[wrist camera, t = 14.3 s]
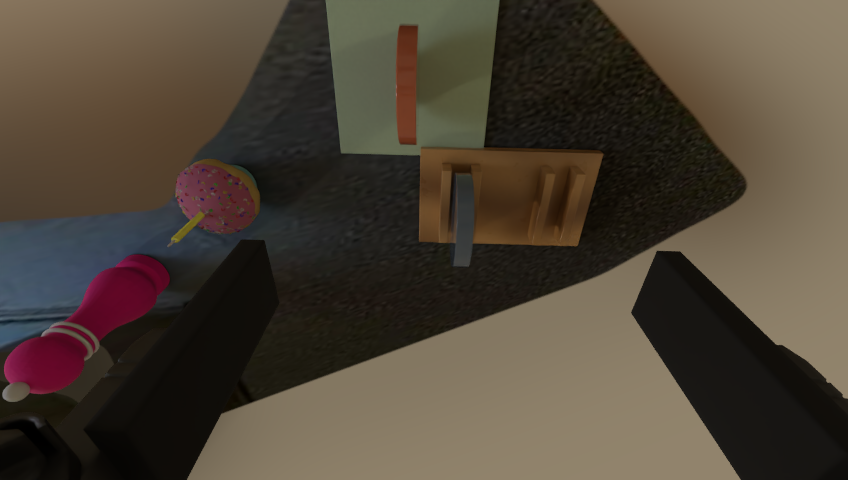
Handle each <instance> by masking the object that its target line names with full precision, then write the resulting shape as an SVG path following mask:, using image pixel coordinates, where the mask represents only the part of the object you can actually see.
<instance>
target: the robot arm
mask: <svg viewBox="0 0 848 480" xmlns="http://www.w3.org/2000/svg"><path fill="white" fill-rule="evenodd" d="M278 305H279V299H278V295H277V291H276V287H275V282H274V278H273V274H272V270H271V266H270V262H269V258H268V254H267V249H266V245H265V241H264V240H241V241H240V242H239V243H238V244H237V246H236V247H235V248H234V249H233V250H232V252H231V253H230V254H229V255H228V256H227V258H226V259H225V260H224V261H223V262H222V264H221V265H220V266H219V267H218V268H217V269H216V271H215V272H214V273H213V274H212V275H211V277H210V278H209V279H208V280H207V281H206V283H205V284H204V285H203V286H202V287H201V289H200V290H199V291H198V292H197V293H196V295H195V296H194V297H193V298H192V299H191V301H190V302H189V303H188V304H187V305H186V307H185V308H184V309H183V310H182V311H181V313H180V314H179V315H178V316H177V317H176V319H175V320H174V321H173V322H172V323H171V325H170V326H169V327H168V328H167V329H164V328H154V329H153V330H151V331H150V332H148V333H147V334H145V335H144V336H142V337H141V338H140V339H138V340H137V341H135V342H134V343H133V344H132V345H131V346H130V347H129V348H128V349H127V350H126V352H125V353H124V354H123V355H122V356H121V357H120V358H119V359H118V363H115V364H114V365H113V366H112V367H111V368H110V369H109V370H108V372H107V373H106V375H105V378H101V379H100V381H99V382H98V383H97V384H96V385H95V386H94V387H93V388H92V389H91V391H90V392H89V393H88V394H87V395H86V396H85V397H84V398H83V399H82V401H81V402H80V403H79V404H78V405H77V406H76V407H75V408H74V409H73V410H72V411H71V413H70V414H69V415H68V416H67V417H66V418H65V419H64V420H63V421H62V423H61V424H60V425H59V426H58V427H57V428H56V429H54V428H53V427H52V426H51V425H50V424H49V422H48V421H47V420H46V419H45V418H44V417H43V416H41V415H39V414H36V413H34V412H29V413H17V414H14V415H11V416H8V417H5V418H2V419H0V480H187V478H188V476H189V474H190V472H191V470H192V469H193V467H194V465H195V463H196V461H197V459H198V457H199V455H200V453H201V451H202V449H203V448H204V446H205V444H206V442H207V440H208V438H209V436H210V434H211V432H212V430H213V429H214V427H215V425H216V423H217V421H218V419H219V417H220V415H221V413H222V411H223V409H224V408H225V406H226V404H227V402H228V400H229V398H230V396H231V394H232V392H233V390H234V388H235V387H236V385H237V383H238V381H239V379H240V377H241V375H242V373H243V371H244V369H245V368H246V366H247V364H248V362H249V360H250V358H251V356H252V354H253V352H254V350H255V348H256V347H257V345H258V343H259V341H260V339H261V337H262V335H263V333H264V331H265V329H266V327H267V326H268V324H269V322H270V320H271V318H272V316H273V314H274V312H275V310H276V308H277V307H278ZM631 313H632V315H633V316H634V318H635V319H636V321H637V323H638V324H639V326H640V327H641V329H642V330H643V331H644V333H645V335H646V336H647V338H648V339H649V341H650V342H651V344H652V345H653V347H654V348H655V350H656V351H657V353H658V354H659V356H660V357H661V359H662V360H663V362H664V363H665V365H666V367H667V368H668V369H669V371H670V372H671V374H672V376H673V377H674V379H675V380H676V382H677V383H678V385H679V386H680V388H681V389H682V391H683V392H684V394H685V395H686V397H687V398H688V400H689V401H690V403H691V405H692V406H693V408H694V409H695V411H696V412H697V414H698V415H699V417H700V418H701V420H702V421H703V423H704V424H705V426H706V427H707V429H708V430H709V432H710V433H711V435H712V436H713V438H714V439H715V441H716V442H717V444H718V446H719V447H720V449H721V450H722V452H723V453H724V455H725V456H726V458H727V459H728V461H729V462H730V464H731V465H732V467H733V468H734V470H735V471H736V473H737V474H738V476H739V477H740V479H741V480H848V399H845V398H843V397H842V393H841V392H839V391H838V390H837V389H836V388H835V387H834V386H833V385H832V384H831V383H827V382H826V379H825V378H824V377H823V376H822V375H821V374H820V373H819V372H818V371H817V370H816V369H815V368H814V367H813V366H812V365H811V364H809V363H808V362H807V361H806V360H804V359H803V358H801V357H800V356H798V355H797V354H795V353H793V352H792V351H791V350H789V349H787V348H786V347H784V346H783V345H776V344H775V343H774V342H773V341H772V340H771V339H770V338H769V337H768V336H766V335H765V334H764V333H763V332H762V331H761V330H760V329H759V328H758V327H757V326H756V325H755V324H754V323H753V322H752V321H751V320H750V319H749V318H748V317H747V316H746V315H745V314H744V313H743V312H742V311H741V310H740V309H739V308H738V307H737V306H736V305H735V304H734V303H733V302H731V301H730V300H729V299H728V298H727V297H726V296H725V295H724V294H723V293H722V292H721V291H720V290H719V289H718V288H717V287H716V286H715V285H714V284H713V283H712V282H711V281H710V280H709V279H708V278H707V277H706V276H705V275H704V274H703V273H702V272H701V271H700V270H698V269H697V268H696V267H695V266H694V265H693V264H692V263H691V262H690V261H689V260H688V259H687V258H686V257H685V256H684V255H683V254H682V253H681V252H675V251H657V252H656V255H655V257H654V259H653V262H652V264H651V266H650V269H649V271H648V274H647V276H646V278H645V281H644V283H643V286H642V288H641V291H640V293H639V295H638V298H637V300H636V302H635V305H634V307H633V309H632V312H631Z"/></svg>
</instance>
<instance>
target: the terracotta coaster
mask: <svg viewBox="0 0 848 480" xmlns="http://www.w3.org/2000/svg"><path fill="white" fill-rule="evenodd" d="M419 97H420V29H419V24H410V23H400V24H399V28H398V35H397V49H396V117H397V132H398V140H399V143H400V145H417V143H418V129H419Z"/></svg>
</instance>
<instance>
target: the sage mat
mask: <svg viewBox="0 0 848 480" xmlns="http://www.w3.org/2000/svg"><path fill="white" fill-rule="evenodd" d="M326 7H327V17H328V27H329V37H330V47H331V57H332V67H333V77H334V87H335V97H336V107H337V117H338V127H339V137H340V147H341V153H354V154H393V155H421V147H454V148H484V140H485V131H486V121H487V112H488V103H489V93H490V84H491V74H492V65H493V56H494V46H495V37H496V28H497V18H498V9H499V0H326ZM400 23H410V24H419V29H420V97H419V129H418V143H417V145H400V143H399V140H398V132H397V117H396V49H397V35H398V28H399V24H400Z"/></svg>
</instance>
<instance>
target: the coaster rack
mask: <svg viewBox="0 0 848 480" xmlns="http://www.w3.org/2000/svg"><path fill="white" fill-rule="evenodd" d="M602 157H603V153H602V152H601V151H600V150H569V149H530V148H491V147H484V148H454V147H421V157H420V221H419V242H439V243H447V242H449V243H450V214H451V196H452V185H453V178H454V174H455V173H471V174H472V178H473V185H474V233H473V244H474V243H486V244H522V245H559V246H578V242H579V239H580V235H581V232H582V228H583V225H584V221H585V218H586V214H587V210H588V207H589V203H590V200H591V196H592V193H593V189H594V186H595V182H596V178H597V175H598V171H599V168H600V164H601V161H602Z"/></svg>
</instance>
